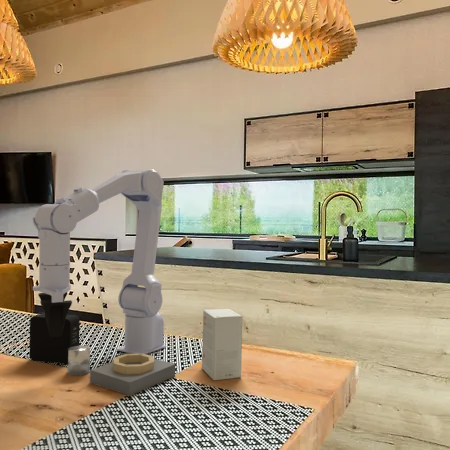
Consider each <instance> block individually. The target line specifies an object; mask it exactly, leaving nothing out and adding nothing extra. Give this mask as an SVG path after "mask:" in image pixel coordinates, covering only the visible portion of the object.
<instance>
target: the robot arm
mask: <svg viewBox="0 0 450 450" xmlns="http://www.w3.org/2000/svg"><path fill="white" fill-rule="evenodd" d="M164 183H165V181H164V180H163V179H162V177H161V174H160V173H159V172H158V171H157V170H156V169H153V168H150V169H142V170H140V169H139V170H127V169H126V170H125V169H124V170H122V171H121V172H117V173H115V174H114V175H113V176H111V177H110V178H108V179H106V180H105V181H104V182H102V183H100V184H98V185H97V186H95V187H93V188H92V189H90V188H87V187H76V188H74V189H72V190H73V192H72V193H70V194H68V195H66V196H64V197H58V198H56V199H55V200H56V201H55V202H54V203H46V204H43V205H41V206H40V207H39V208H38V209H37V210H36V212H35V215H34V217H32V223H33V226H34V227H35V229H36V231H37V239H39V253H38V254H39V262H38V263H39V269H38V270H39V271H38V272H39V275H38V277H39V279H38V283H39V284H38V285H35V286H34V285H33V286H32V291H33V292H39V293H38V294H37V295H38V298H39V299H40V305H41V307H42V309H43V313H45V318H46V323H47V327H48V330H49V334H50V337H60V336H62V333H63V329H64V324H65V319H66V316H67V315H68V313H69V310H70V308H71V306H72V305H73V300H71V299H70V300H65V299H66V297H67V295H68V292H69V291H70V290H71V288H72V287H71V283H70V280H71V276H70V275H71V273H70V272H71V268H70V267H71V262H70V261H71V232H73V231H74V230H75V229H76V226H77V223H79V222H80V221H83V220H84V219H86V218H87V217H89V216H91V215H93V214H95V213H96V212H98V210H99V208H100V204H101V203H103V202H105V201H107V200H110V199H112V198H113V197H115V196H118V195H120V194H121V195H122V196H123V197H124V198H125V199H127V200H128V201H129V202H130V203H131V204H132V205H135V207H136V208H137V210H138V216H137V225H136V232H135V233H136V234H135V240H134V249H133V250H134V251H133V258H132V259H133V260H132V266H131V273H130V274H129V275H128V276H126V277H125V278H124V279H123V282H122V287H121V289H120V291H119V293H118V301H117V302H118V304H119V307H120V308H121V309H122V313H123V314H124V345H122V346H120V347H117V348H116V351H119V352H122V353H125V354H139V353H142V354H146V355H149V354H150V353H154V352H156V351H159V350H162V349H164V348H166V347H167V345H166V344H164V336H165V335H164V330H165V329H164V327H165V322H164V318H163V316H162V314H161V313H160V312H159V311H160V309H161V307H162V304H163V294H162V283H161V282H160V280H159V279H158V278H157V277H156V276H155V266H156V257H157V248H158V239H159V234H160V232H159V231H160V224H161V215H162V206H163V205H162V199H163V192H164V191H163V190H164Z"/></svg>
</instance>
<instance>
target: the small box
mask: <svg viewBox="0 0 450 450" xmlns="http://www.w3.org/2000/svg"><path fill="white" fill-rule="evenodd" d="M202 314H203V317H202V349H201V352H202V353H201V356H202V357H201V368H202V370H203V371H204V372H205V373H206V374H207V375H208V376H209V377H210V378H211V379H212V381H220V380H231V379H238V378H241V377H242V353H243V351H242V349H243V345H242V344H243V315H241V314H239V313H238V312H236V311H233V310H232V309H230V308H216V309H213V308H212V309H211V308H210V309H203V313H202Z"/></svg>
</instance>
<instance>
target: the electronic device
mask: <svg viewBox="0 0 450 450" xmlns="http://www.w3.org/2000/svg"><path fill="white" fill-rule="evenodd" d="M80 320H81V319H80V316H79V315H76V314H67V316H66V319H65V324H64V329H63V333H62V336H60V337H50V334H49V330H48V327H47V323H46V318H45V312H41V313H37V314H36V315H34V314H33V316H31V317H30V319H29V360H31V361H34V362H43V363H44V362H45V363H53V364H61V365H68V349H69V348H71V347H74V346H80V325H81V324H80V322H81V321H80Z"/></svg>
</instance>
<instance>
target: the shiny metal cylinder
mask: <svg viewBox="0 0 450 450" xmlns="http://www.w3.org/2000/svg"><path fill="white" fill-rule="evenodd" d="M90 370H91V347H90V346H87V345H79V346H74V347H71V348H69V349H68V364H67V375H69V376H72V377H80V376H86V375H88V374H90Z"/></svg>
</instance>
